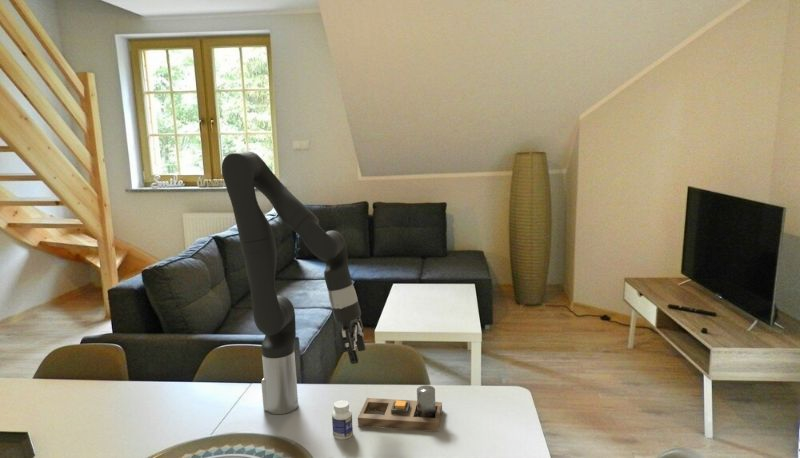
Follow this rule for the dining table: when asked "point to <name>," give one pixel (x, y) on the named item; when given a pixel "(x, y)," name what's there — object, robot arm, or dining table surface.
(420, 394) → the cylinder
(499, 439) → the dining table surface
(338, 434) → the pill bottle
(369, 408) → the wooden compartment tray
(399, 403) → the button
